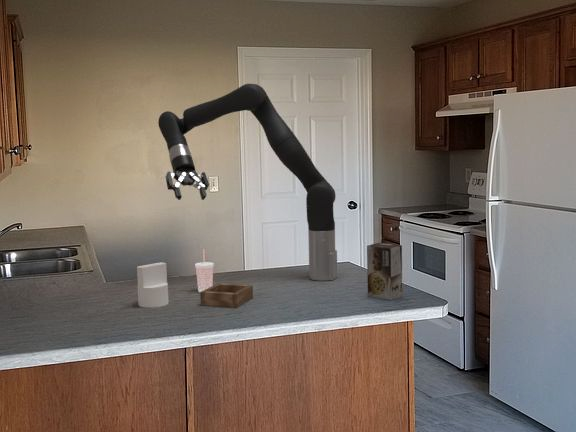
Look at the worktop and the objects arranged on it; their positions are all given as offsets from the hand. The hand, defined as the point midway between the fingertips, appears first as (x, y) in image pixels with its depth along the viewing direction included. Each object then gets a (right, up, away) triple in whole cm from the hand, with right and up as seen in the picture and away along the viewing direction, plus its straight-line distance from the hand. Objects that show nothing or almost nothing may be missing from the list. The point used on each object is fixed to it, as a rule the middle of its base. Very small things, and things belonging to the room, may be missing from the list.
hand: (192, 198), depth 221 cm
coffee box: (+62, -31, -18) cm, 72 cm away
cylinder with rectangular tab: (-9, -33, -20) cm, 39 cm away
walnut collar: (+14, -32, -20) cm, 40 cm away
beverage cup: (+5, -31, -5) cm, 31 cm away
